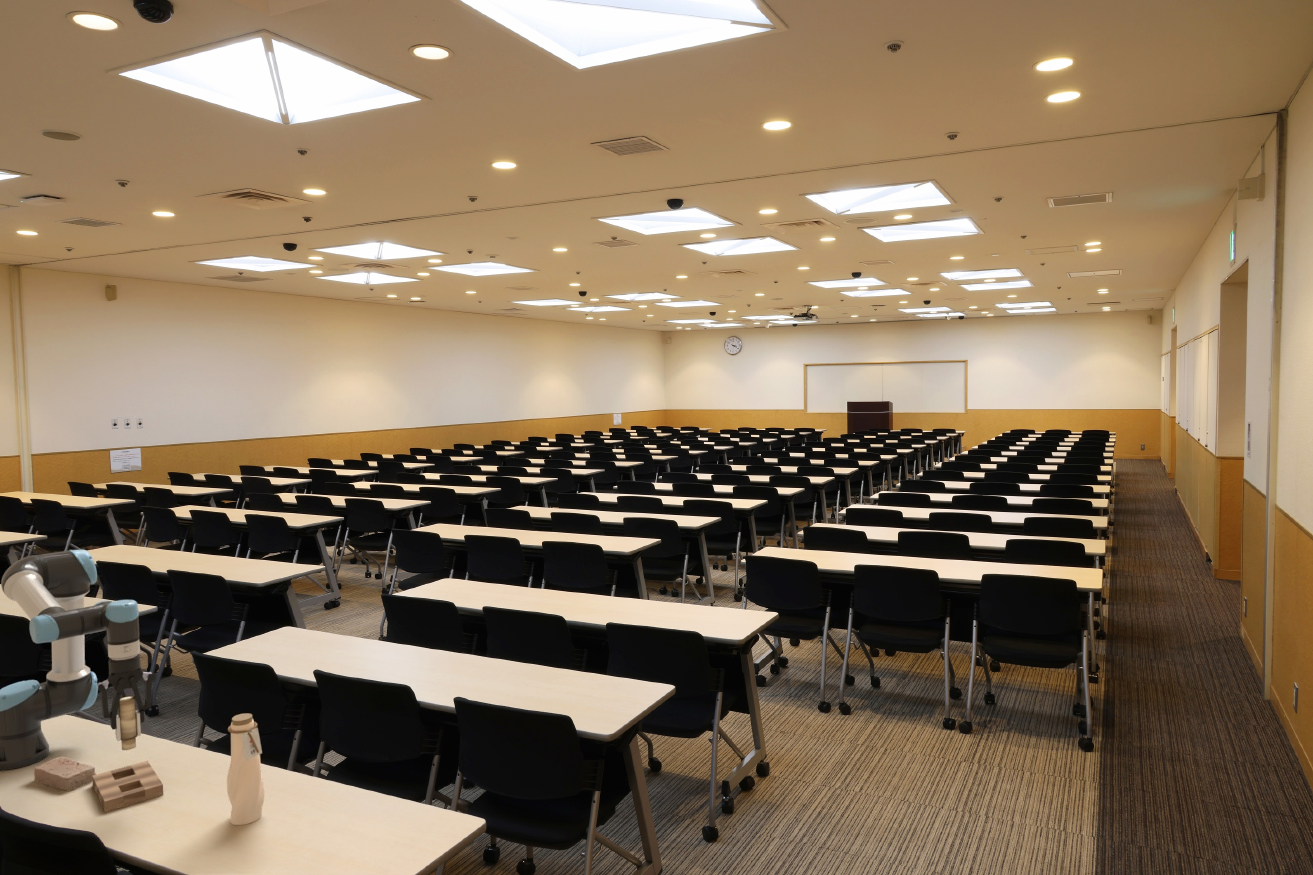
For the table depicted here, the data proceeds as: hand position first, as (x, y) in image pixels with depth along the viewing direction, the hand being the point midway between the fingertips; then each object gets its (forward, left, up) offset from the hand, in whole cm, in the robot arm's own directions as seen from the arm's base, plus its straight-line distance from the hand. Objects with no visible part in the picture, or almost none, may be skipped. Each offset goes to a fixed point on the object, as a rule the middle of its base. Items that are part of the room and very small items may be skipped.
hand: (128, 736), depth 232 cm
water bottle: (+35, +21, -18) cm, 45 cm away
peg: (0, 0, -3) cm, 3 cm away
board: (-5, 0, -18) cm, 18 cm away
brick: (-25, -12, -18) cm, 33 cm away
